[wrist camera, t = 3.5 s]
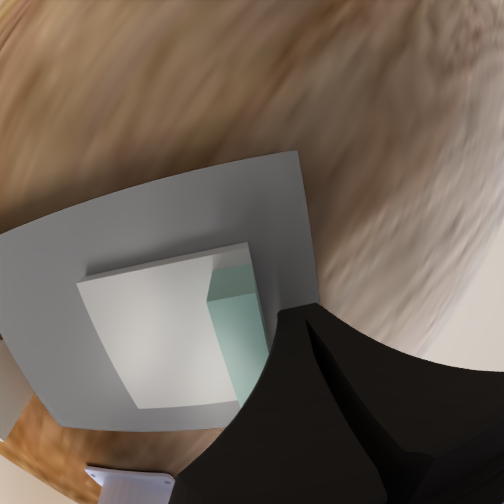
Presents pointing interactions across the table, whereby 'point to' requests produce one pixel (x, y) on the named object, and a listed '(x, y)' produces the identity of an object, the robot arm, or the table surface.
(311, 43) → the table surface
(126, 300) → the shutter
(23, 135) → the table surface
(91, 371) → the socket plate
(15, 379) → the plug
